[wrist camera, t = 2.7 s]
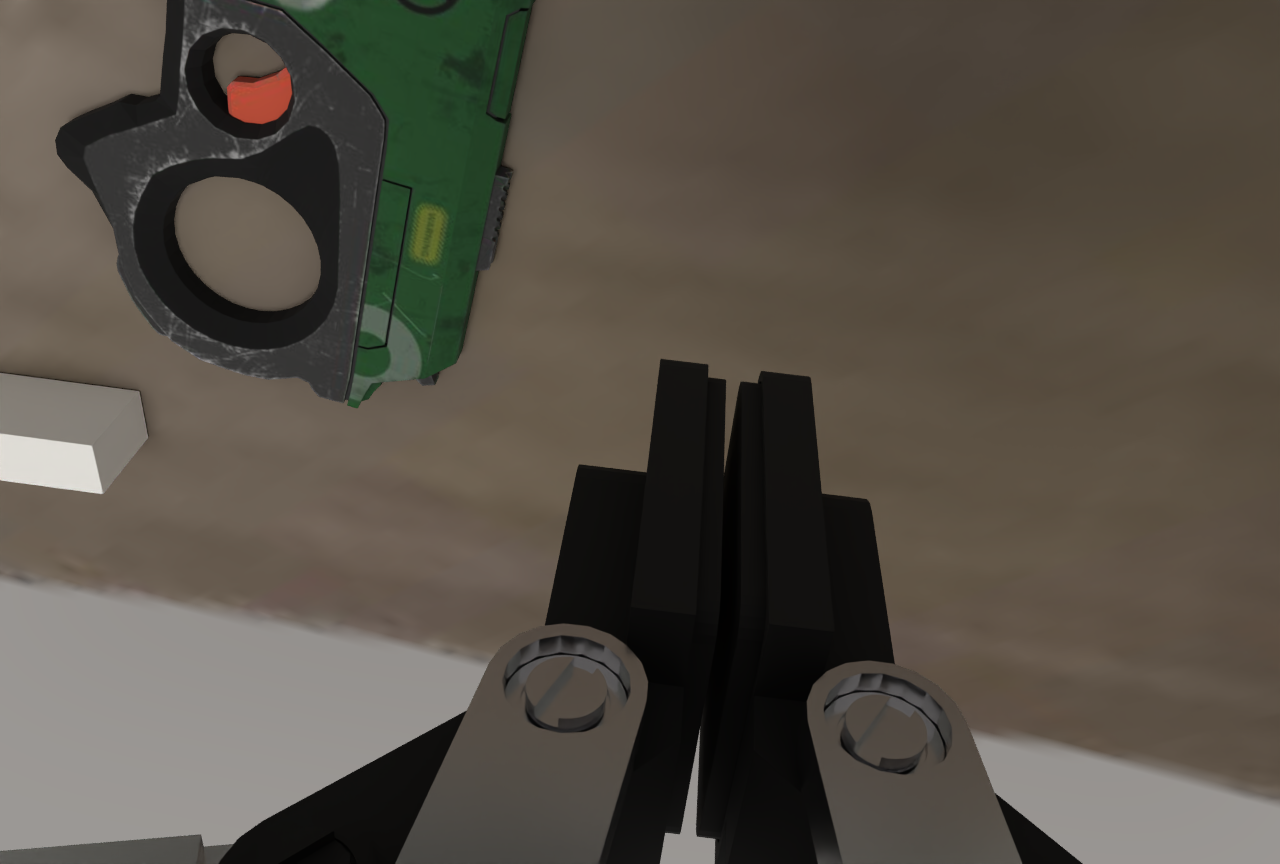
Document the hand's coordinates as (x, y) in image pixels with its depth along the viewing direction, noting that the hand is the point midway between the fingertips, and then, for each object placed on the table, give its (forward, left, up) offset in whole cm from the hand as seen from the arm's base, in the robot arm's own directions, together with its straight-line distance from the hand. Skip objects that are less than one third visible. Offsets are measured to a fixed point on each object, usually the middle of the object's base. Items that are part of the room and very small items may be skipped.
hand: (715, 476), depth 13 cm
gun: (+10, 0, -14) cm, 17 cm away
